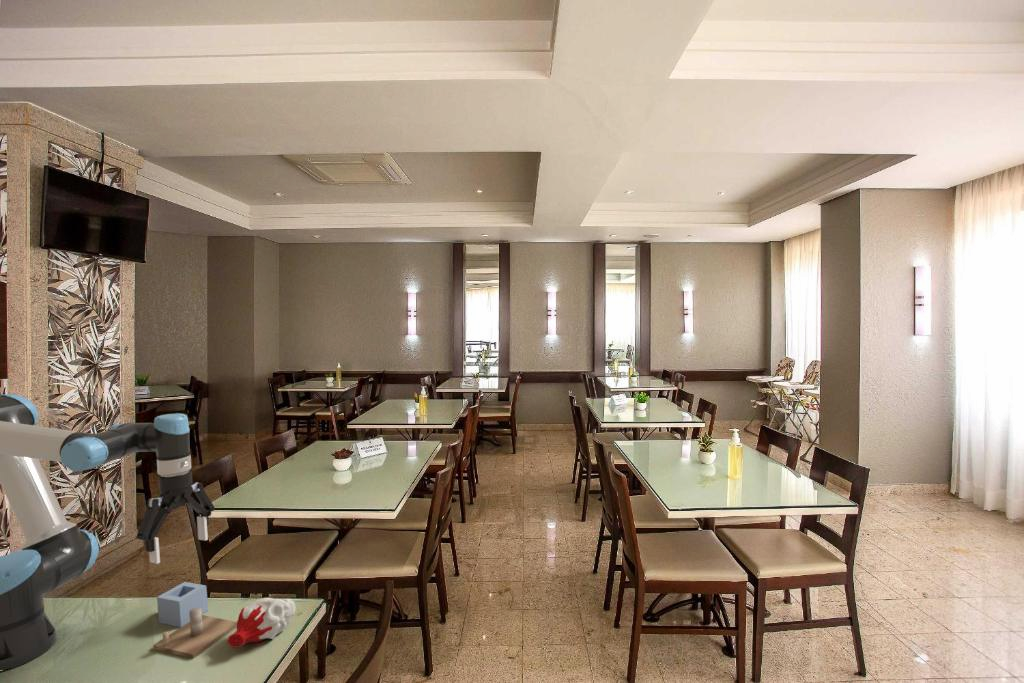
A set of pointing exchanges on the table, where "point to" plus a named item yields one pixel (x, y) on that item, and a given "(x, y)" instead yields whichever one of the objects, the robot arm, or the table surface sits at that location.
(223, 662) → the table surface
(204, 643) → the post base
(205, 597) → the square nut with handle
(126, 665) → the table surface
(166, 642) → the dowel
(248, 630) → the candle
